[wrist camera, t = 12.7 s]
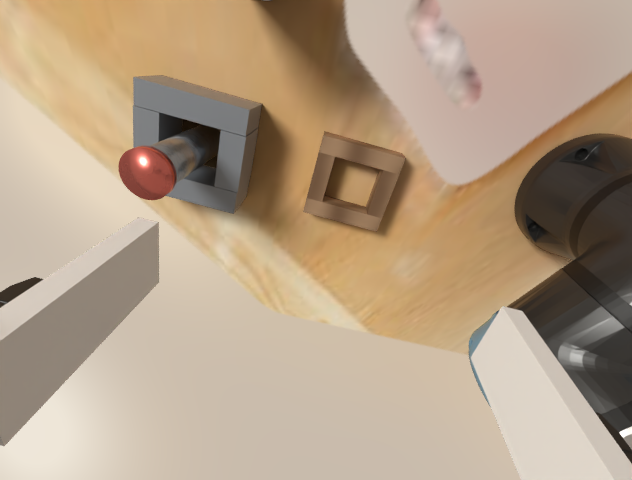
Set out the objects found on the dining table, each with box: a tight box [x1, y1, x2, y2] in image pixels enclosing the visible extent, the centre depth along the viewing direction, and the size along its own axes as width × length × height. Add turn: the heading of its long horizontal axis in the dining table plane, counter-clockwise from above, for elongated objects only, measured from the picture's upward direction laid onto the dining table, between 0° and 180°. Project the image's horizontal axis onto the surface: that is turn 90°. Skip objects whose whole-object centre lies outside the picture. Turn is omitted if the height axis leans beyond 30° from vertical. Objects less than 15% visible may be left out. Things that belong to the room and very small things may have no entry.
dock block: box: [133, 75, 262, 214], centre depth 39 cm, size 12×12×6 cm
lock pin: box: [119, 124, 221, 200], centre depth 35 cm, size 5×5×15 cm
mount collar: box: [303, 131, 406, 232], centre depth 41 cm, size 10×10×2 cm
